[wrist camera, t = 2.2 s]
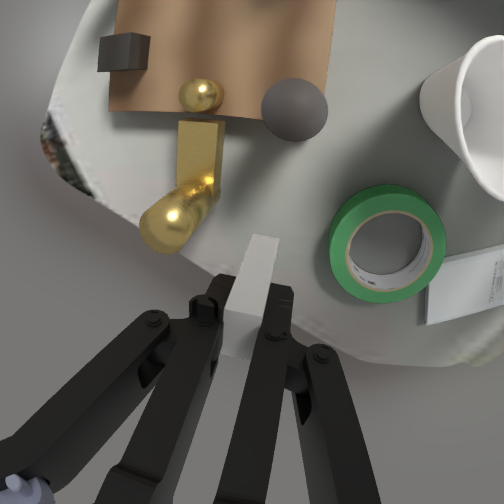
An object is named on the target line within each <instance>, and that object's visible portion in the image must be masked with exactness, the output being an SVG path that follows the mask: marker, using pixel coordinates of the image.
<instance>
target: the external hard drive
mask: <svg viewBox="0 0 504 504" xmlns="http://www.w3.org/2000/svg"><path fill="white" fill-rule="evenodd" d="M503 304H504V244H501V245H497V246H493V247H489V248H484V249H480V250H476V251H472V252H467V253H463V254H458V255H454V256H449V257H444V260H443V263H442V265H441V267H440V269H439V271H438V273H437V274H436V276H435V277H434V278H433V280H432V281H431V282H430V283H429V284H428V285H427V286H426V292H425V313H424V321H425V324H426V326H427V325H431V324H436V323H440V322H444V321H448V320H452V319H455V318H459V317H463V316H467V315H470V314H474V313H477V312H481V311H484V310H487V309H491V308H494V307H497V306H500V305H503Z"/></svg>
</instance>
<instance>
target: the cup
mask: <svg viewBox="0 0 504 504" xmlns="http://www.w3.org/2000/svg"><path fill="white" fill-rule="evenodd" d="M419 103H420V109H421V113H422V116H423V118H424V120H425V122H426V124H427V125H428V126H429V128H430V129H431V130H432V131H433V132H434V133H435V134H436V135H437V136H438V137H439V138H440V139H442V140H443V141H444V142H445V143H446V144H447V145H448V146H449V147H450V148H451V149H452V150H453V151H454V152H455V153H456V154H457V155H458V156H459V158H460V159H461V160H462V161H463V162H464V163H465V164H466V165H467V167H468V169H469V171H470V172H471V174H472V175H473V177H474V178H475V180H476V181H477V183H478V184H479V185H480V186H481V187H482V188H483V189H484V190H485V191H486V192H487V193H488V194H490V195H491V196H493V197H494V198H496V199H497V200H499V201H502V202H504V36H502V35H495V36H490V37H485V38H484V39H482V40H480V41H478V42H477V43H475V44H474V45H473V46H472V47H471V48H470V50H469V51H468V52H467V53H466V54H464V55H463V56H461V57H459V58H458V59H456V60H454V61H453V62H451V63H449V64H448V65H446V66H445V67H443V68H441V69H440V70H438V71H436V72H435V73H433V74H432V75H430V76H429V77H428V78H427V79H426V80H425V81H424V83H423V85H422V87H421V91H420V97H419Z"/></svg>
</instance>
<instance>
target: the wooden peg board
mask: <svg viewBox="0 0 504 504" xmlns="http://www.w3.org/2000/svg"><path fill="white" fill-rule="evenodd" d="M335 8H336V0H119V2H118V8H117V14H116V21H115V29H114V35H111V36H105V37H100V46H99V57H98V70H97V72H110V86H109V112H112V111H162V112H186V113H202V114H215V115H226V116H236V117H244V118H253V119H260V120H263V121H264V123H265V125H266V126H267V128H268V129H269V130H270V131H271V132H272V133H273V134H274V135H276V136H277V137H279V138H281V139H284V140H287V141H294V142H298V141H304V140H307V139H310V138H312V137H314V136H315V135H316V134H318V133H319V132H320V131H321V129H322V128H323V127H324V125H325V123H326V120H327V116H328V106H327V102H326V99H325V97H324V90H325V84H326V77H327V70H328V63H329V56H330V49H331V41H332V33H333V25H334V17H335ZM194 78H198V79H210V80H215V81H217V82H219V83H220V84H221V85H222V87H223V89H224V93H225V94H224V99H223V101H222V103H221V104H220V105H219V106H218V107H216V108H214V109H210V110H205V111H200V112H190V111H187V110H185V109H184V108H183V107H182V106H181V104H180V102H179V90H180V88H181V86H182V85H183V84H184V83H185V82H186V81H188V80H190V79H194Z"/></svg>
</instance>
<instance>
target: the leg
mask: <svg viewBox="0 0 504 504" xmlns="http://www.w3.org/2000/svg"><path fill="white" fill-rule="evenodd" d="M224 94H225V93H224V89H223V87H222V85H221V84H220V83H219V82H217V81H215V80H210V79H198V78H194V79H190V80H188V81H186V82H185V83H184V84H183V85H182V86H181V88H180V90H179V102H180V104H181V106H182V107H183V108H184V109H185V110H187V111H190V112H200V111H205V110H210V109H214V108H216V107H218V106H219V105H220V104H221V103H222V101H223V99H224ZM225 124H226V121H221V120H210V119H197V118H187V119H183V120H179V123H178V142H177V169H176V187H175V188H174V189H173V190H171V191H170V192H169V193H168V194H166V195H165V196H164V197H163V198H161V199H160V200H159V201H158V202H156V203H155V204H154V205H153V206H152V207H150V208H149V209H148V210H147V211H145V212H144V213H143V215H142V216H141V218H140V222H139V230H140V234H141V236H142V238H143V240H144V242H145V243H146V244H147V245H148V246H149V247H150V248H151V249H153V250H154V251H156V252H158V253H162V254H173V253H176V252H178V251H179V250H180V249H181V248H182V247H183V245H184V244H185V243H186V241H187V240H188V239H189V238H190V236H191V235H192V234H193V232H194V231H195V230H196V229H197V227H198V226H199V225H200V224H201V222H202V221H203V220H204V219H205V217H206V216H207V215H208V214H209V212H210V211H211V210H212V209H213V207H214V206H215V205H216V204H217V202H218V201H219V199H220V195H221V189H220V181H221V169H222V157H223V145H224V134H225Z"/></svg>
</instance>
